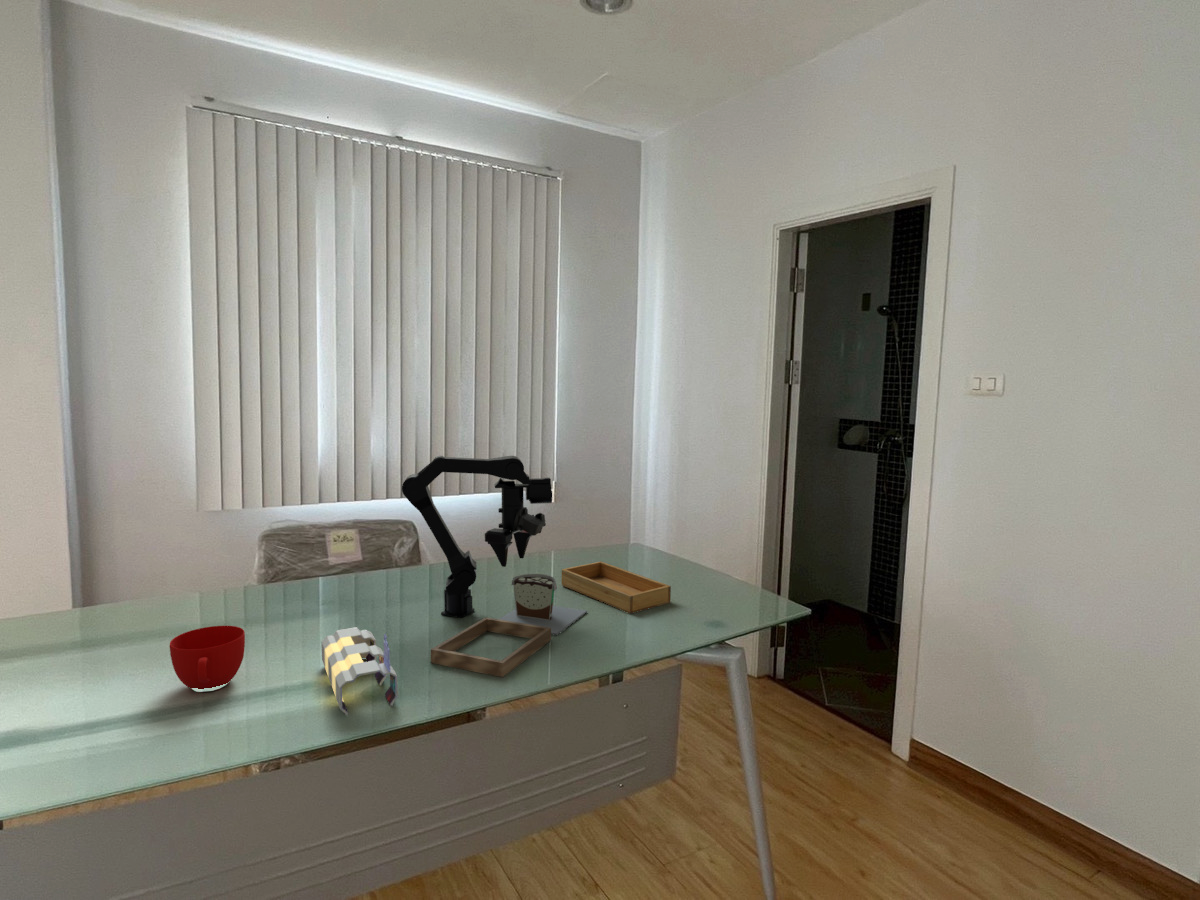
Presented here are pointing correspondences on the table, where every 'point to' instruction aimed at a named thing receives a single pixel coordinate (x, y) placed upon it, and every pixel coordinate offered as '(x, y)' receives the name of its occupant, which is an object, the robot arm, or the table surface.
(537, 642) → the walnut frame
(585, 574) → the tray
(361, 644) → the jagged striped arch
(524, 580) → the food container
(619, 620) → the table surface
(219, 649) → the ceramic cup
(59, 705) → the table surface
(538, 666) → the table surface
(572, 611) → the slate mat
